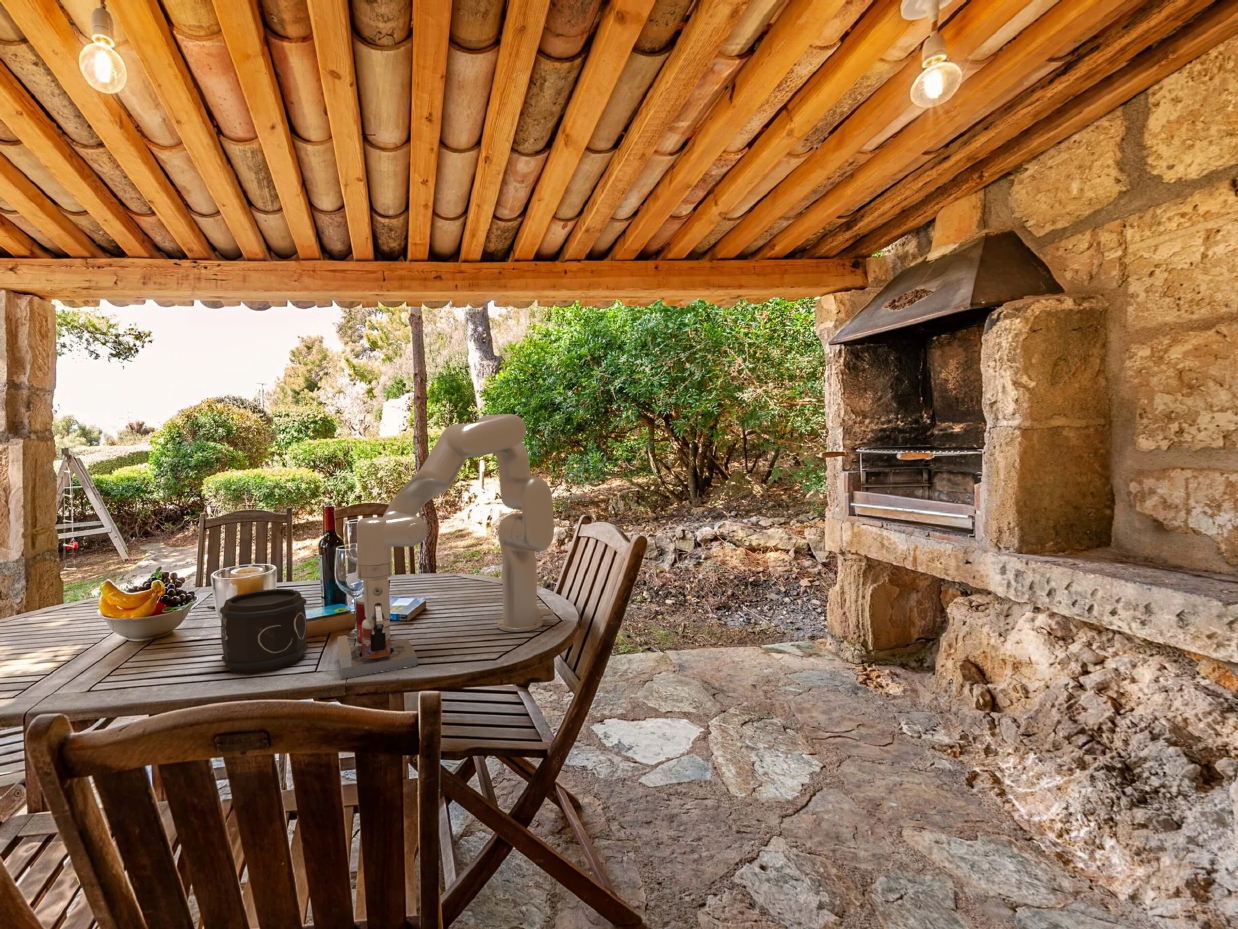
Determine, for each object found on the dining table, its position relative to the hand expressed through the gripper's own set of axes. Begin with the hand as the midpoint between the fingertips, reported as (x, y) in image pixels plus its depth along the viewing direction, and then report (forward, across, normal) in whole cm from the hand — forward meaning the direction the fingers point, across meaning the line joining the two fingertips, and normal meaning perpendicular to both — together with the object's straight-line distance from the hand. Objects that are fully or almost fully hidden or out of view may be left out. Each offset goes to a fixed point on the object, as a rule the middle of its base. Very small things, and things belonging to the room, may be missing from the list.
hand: (376, 645), depth 144 cm
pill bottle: (+3, 0, 0) cm, 3 cm away
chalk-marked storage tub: (+5, +14, +23) cm, 27 cm away
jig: (+4, 0, 0) cm, 4 cm away
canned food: (+4, +19, -1) cm, 20 cm away
